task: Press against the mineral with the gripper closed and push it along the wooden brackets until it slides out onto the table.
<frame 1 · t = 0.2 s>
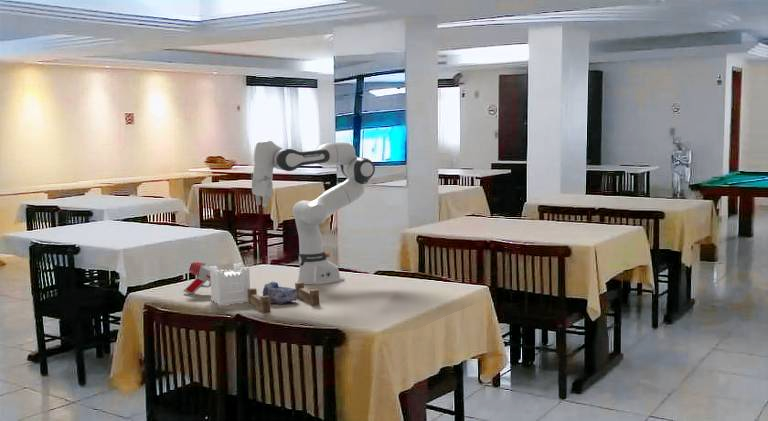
hand: (261, 205, 361), 39 cm above the table, tool pointing down, fingers open, 8 cm apart
toy gun: (216, 294, 355), on the table, touching castle model
castle model: (231, 301, 340), on the table, touching toy gun
wooden brackets: (283, 304, 330), on the table
mineral: (280, 303, 333), on the table
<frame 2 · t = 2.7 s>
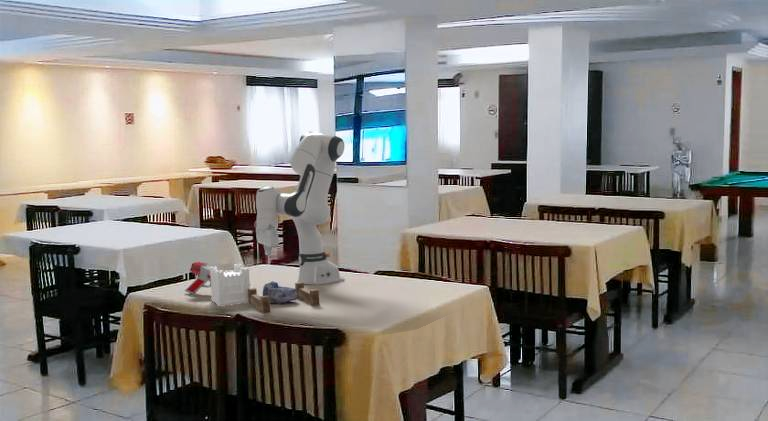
hand: (268, 255, 342), 19 cm above the table, tool pointing down, fingers closed
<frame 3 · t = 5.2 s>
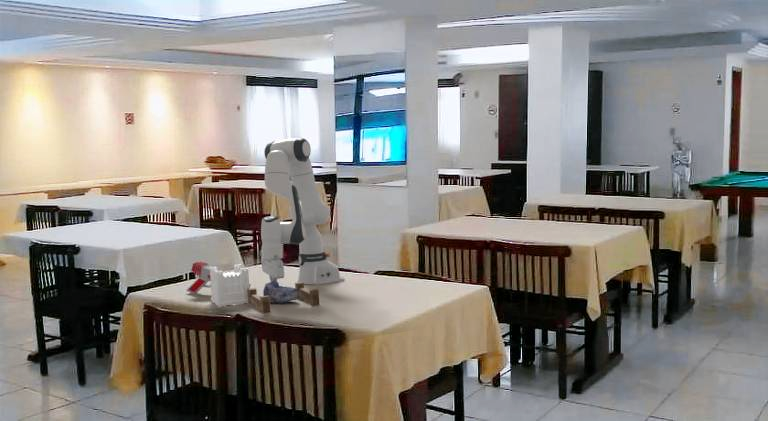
hand: (273, 285, 339), 6 cm above the table, tool pointing down, fingers closed
toy gun: (217, 295, 354), on the table
castle model: (230, 302, 338), on the table
mineral: (281, 302, 334), on the table, touching gripper
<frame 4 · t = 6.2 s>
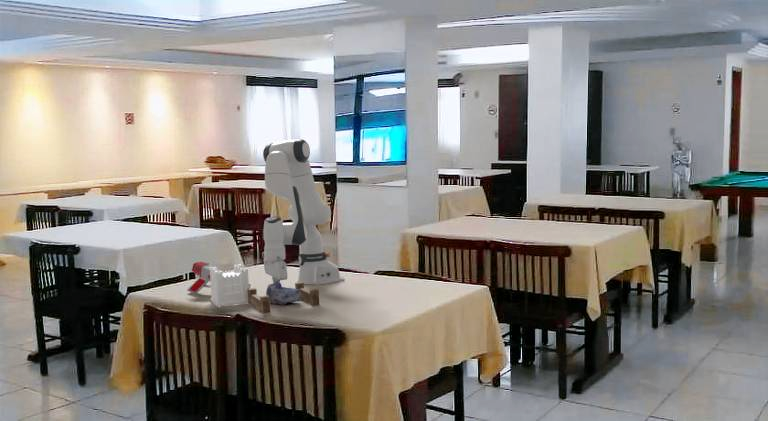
hand: (276, 286, 336), 6 cm above the table, tool pointing down, fingers closed
mineral: (283, 303, 331), on the table, touching gripper
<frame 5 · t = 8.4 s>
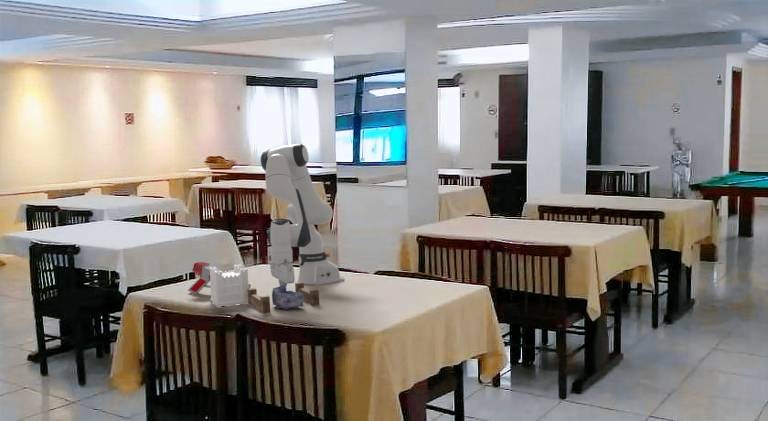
hand: (283, 290, 327), 6 cm above the table, tool pointing down, fingers closed
mineral: (288, 308, 322), on the table, touching gripper
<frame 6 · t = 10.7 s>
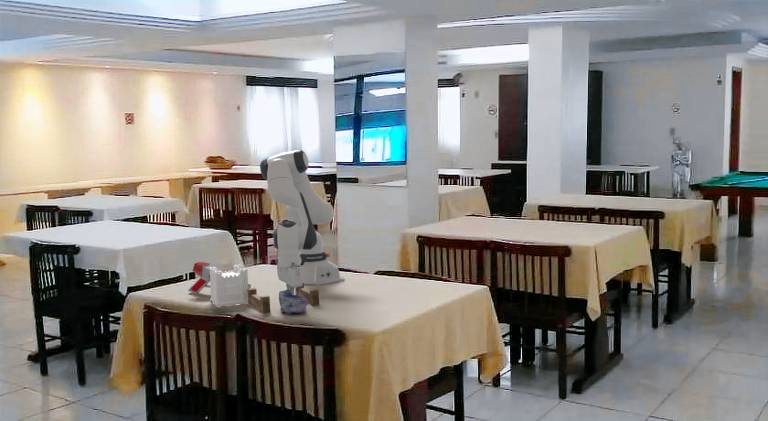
hand: (290, 294, 320), 6 cm above the table, tool pointing down, fingers closed
mineral: (293, 313, 314), on the table, touching gripper
everything else where it was.
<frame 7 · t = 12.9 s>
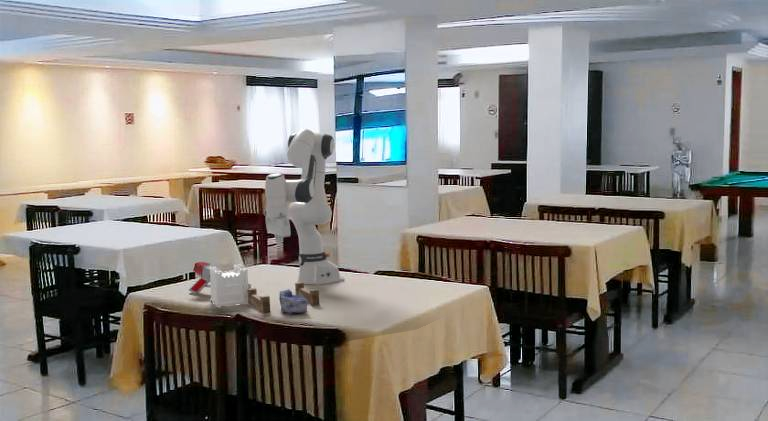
hand: (279, 245, 328), 25 cm above the table, tool pointing down, fingers closed
mineral: (293, 313, 315), on the table
everything else where it was.
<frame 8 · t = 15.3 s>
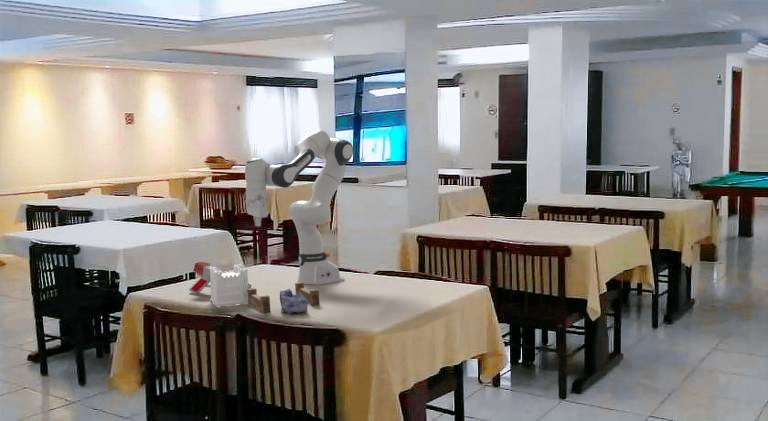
hand: (257, 226, 347), 31 cm above the table, tool pointing down, fingers closed
nothing on the table moved.
at the end: mineral inside the target area (7.1 cm from its centre), on the table; mineral moved 19.6 cm from its start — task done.
